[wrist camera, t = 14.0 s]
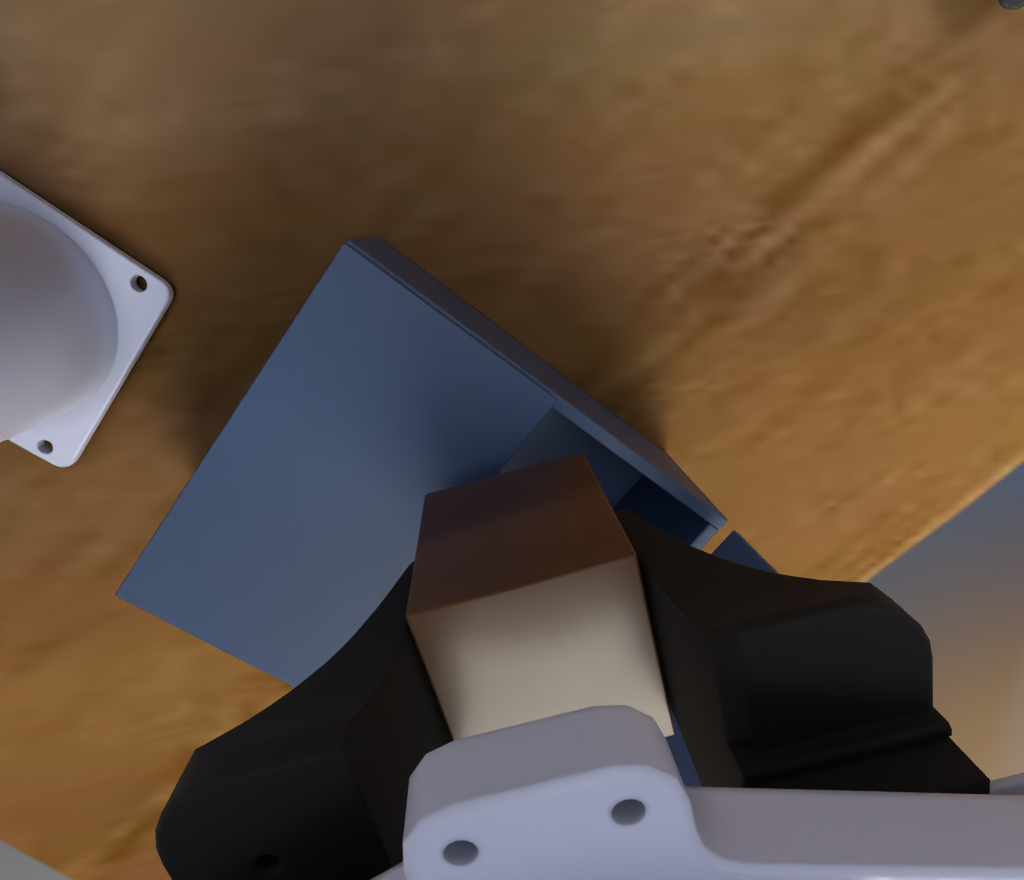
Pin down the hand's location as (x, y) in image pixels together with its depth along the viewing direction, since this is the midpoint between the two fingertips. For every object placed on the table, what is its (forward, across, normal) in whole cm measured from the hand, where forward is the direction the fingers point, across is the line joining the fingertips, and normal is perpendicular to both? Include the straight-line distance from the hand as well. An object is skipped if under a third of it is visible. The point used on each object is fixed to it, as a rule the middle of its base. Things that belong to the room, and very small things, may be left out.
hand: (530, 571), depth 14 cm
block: (+1, 0, 0) cm, 1 cm away
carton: (+10, +3, +1) cm, 10 cm away
